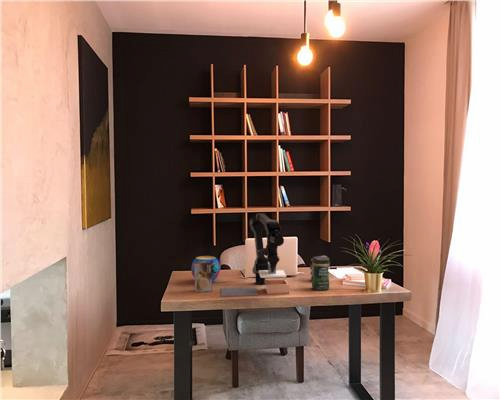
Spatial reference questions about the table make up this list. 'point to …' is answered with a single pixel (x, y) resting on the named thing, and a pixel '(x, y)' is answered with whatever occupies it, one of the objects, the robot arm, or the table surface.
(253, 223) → the robot arm
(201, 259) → the ceramic pot
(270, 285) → the open box
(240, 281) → the table surface
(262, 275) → the lid
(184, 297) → the table surface
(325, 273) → the coffee jar
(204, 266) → the coffee box
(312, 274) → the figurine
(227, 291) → the mat
